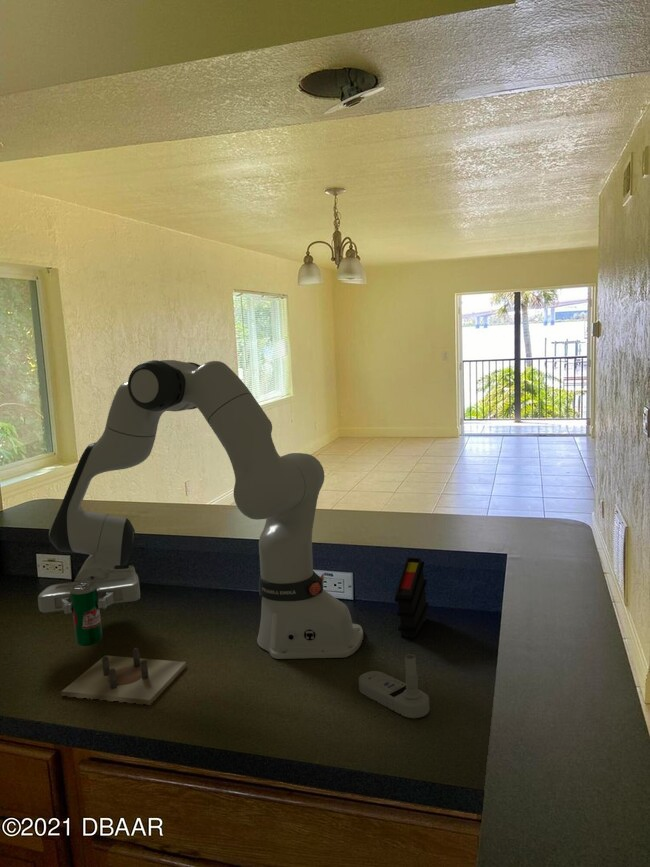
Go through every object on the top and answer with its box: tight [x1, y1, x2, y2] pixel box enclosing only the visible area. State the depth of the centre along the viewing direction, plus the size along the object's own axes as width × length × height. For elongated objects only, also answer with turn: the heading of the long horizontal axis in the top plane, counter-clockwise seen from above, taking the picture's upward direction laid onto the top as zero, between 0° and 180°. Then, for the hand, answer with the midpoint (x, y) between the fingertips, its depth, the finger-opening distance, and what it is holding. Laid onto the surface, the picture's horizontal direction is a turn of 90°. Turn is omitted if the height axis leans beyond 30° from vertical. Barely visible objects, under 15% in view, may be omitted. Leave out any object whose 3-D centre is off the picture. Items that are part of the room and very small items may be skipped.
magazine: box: [394, 557, 430, 638], centre depth 139 cm, size 4×13×15 cm, turn 157°
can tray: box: [61, 647, 187, 706], centre depth 123 cm, size 18×14×5 cm
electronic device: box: [358, 653, 430, 719], centre depth 112 cm, size 5×10×15 cm
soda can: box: [70, 581, 103, 647], centre depth 131 cm, size 5×5×12 cm
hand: (84, 607), depth 130 cm, fingers closed on soda can, 5 cm apart
